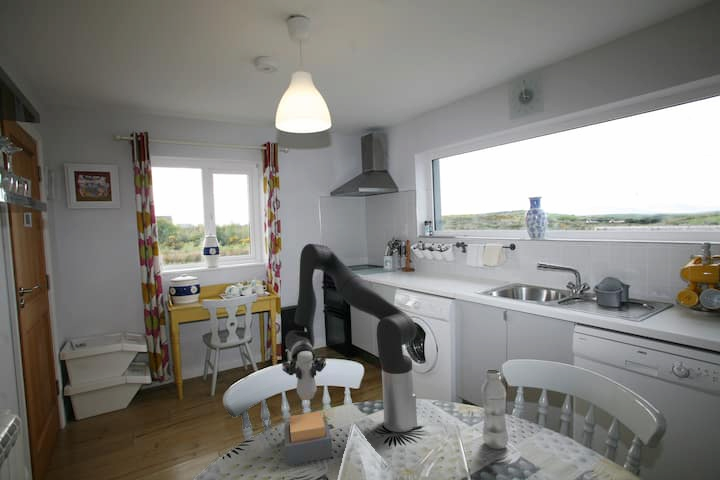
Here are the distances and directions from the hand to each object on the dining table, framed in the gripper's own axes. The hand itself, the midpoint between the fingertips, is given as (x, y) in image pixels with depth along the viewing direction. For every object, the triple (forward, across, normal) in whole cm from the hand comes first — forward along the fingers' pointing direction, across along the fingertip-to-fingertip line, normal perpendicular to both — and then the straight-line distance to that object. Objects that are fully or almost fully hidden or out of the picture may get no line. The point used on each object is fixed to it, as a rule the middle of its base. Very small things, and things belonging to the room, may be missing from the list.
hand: (306, 375), depth 103 cm
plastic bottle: (+15, +48, +20) cm, 54 cm away
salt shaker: (-3, 0, +8) cm, 8 cm away
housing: (+2, -1, +20) cm, 20 cm away
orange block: (+2, -1, +16) cm, 16 cm away
